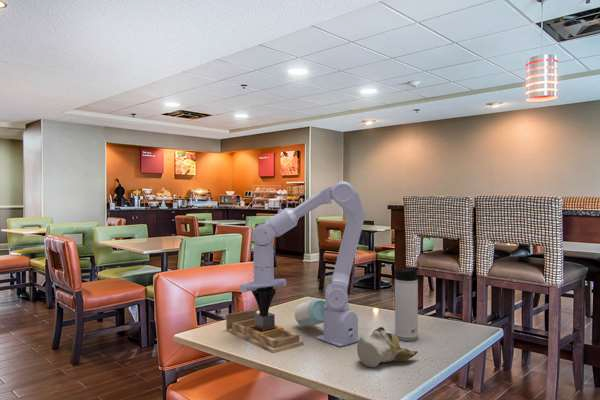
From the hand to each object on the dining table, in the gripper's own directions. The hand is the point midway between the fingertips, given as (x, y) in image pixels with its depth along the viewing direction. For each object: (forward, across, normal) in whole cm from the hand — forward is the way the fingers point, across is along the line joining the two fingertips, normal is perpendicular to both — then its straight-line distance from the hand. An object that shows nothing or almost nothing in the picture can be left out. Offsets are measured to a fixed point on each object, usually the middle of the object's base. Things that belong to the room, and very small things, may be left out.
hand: (263, 314), depth 123 cm
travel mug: (+7, -31, +26) cm, 41 cm away
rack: (+7, 0, 0) cm, 7 cm away
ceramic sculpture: (+7, -12, +33) cm, 36 cm away
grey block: (+6, 0, 0) cm, 6 cm away
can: (+3, -16, -2) cm, 17 cm away
